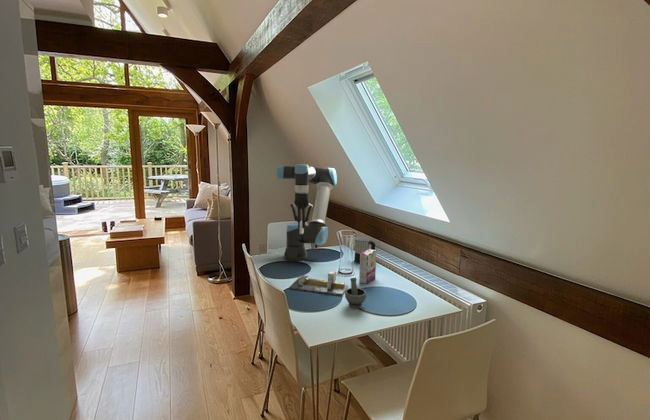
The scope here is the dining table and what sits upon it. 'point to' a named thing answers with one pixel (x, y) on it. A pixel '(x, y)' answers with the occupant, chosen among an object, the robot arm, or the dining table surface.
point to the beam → (318, 282)
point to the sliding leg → (331, 278)
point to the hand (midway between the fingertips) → (301, 233)
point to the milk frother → (362, 247)
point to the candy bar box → (367, 266)
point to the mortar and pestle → (355, 295)
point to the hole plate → (318, 288)
